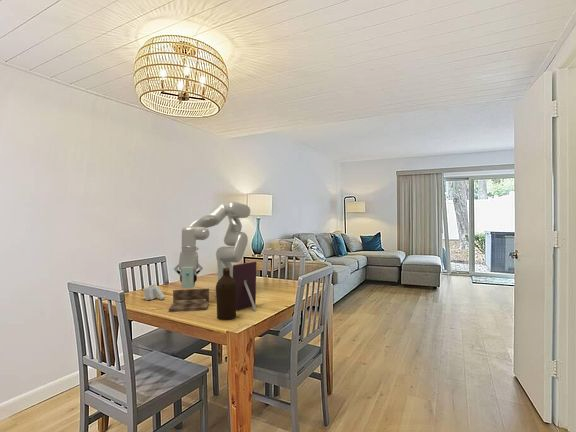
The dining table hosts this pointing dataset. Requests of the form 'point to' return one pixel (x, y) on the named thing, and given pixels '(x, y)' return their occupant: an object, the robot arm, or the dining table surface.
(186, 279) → the grey-green rectangular block
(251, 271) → the picture frame
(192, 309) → the board
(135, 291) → the dining table surface
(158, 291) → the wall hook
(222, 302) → the olive oil
